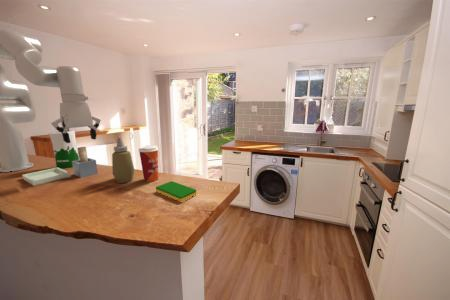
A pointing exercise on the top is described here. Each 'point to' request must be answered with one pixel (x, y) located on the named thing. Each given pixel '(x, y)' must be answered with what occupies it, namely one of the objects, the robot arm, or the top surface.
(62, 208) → the top surface
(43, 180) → the tray
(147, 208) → the top surface
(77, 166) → the holder
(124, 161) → the squeeze bottle
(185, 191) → the dish sponge
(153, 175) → the paper cup
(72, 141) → the milk carton
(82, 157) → the dowel
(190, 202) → the top surface
